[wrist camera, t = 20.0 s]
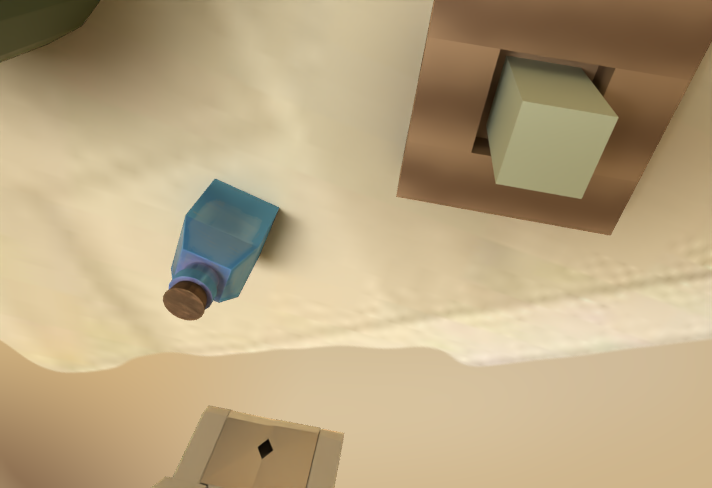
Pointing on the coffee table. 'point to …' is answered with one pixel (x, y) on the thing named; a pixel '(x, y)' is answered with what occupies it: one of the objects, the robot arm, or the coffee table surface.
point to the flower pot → (38, 23)
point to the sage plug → (547, 127)
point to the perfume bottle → (217, 249)
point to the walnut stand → (561, 46)
